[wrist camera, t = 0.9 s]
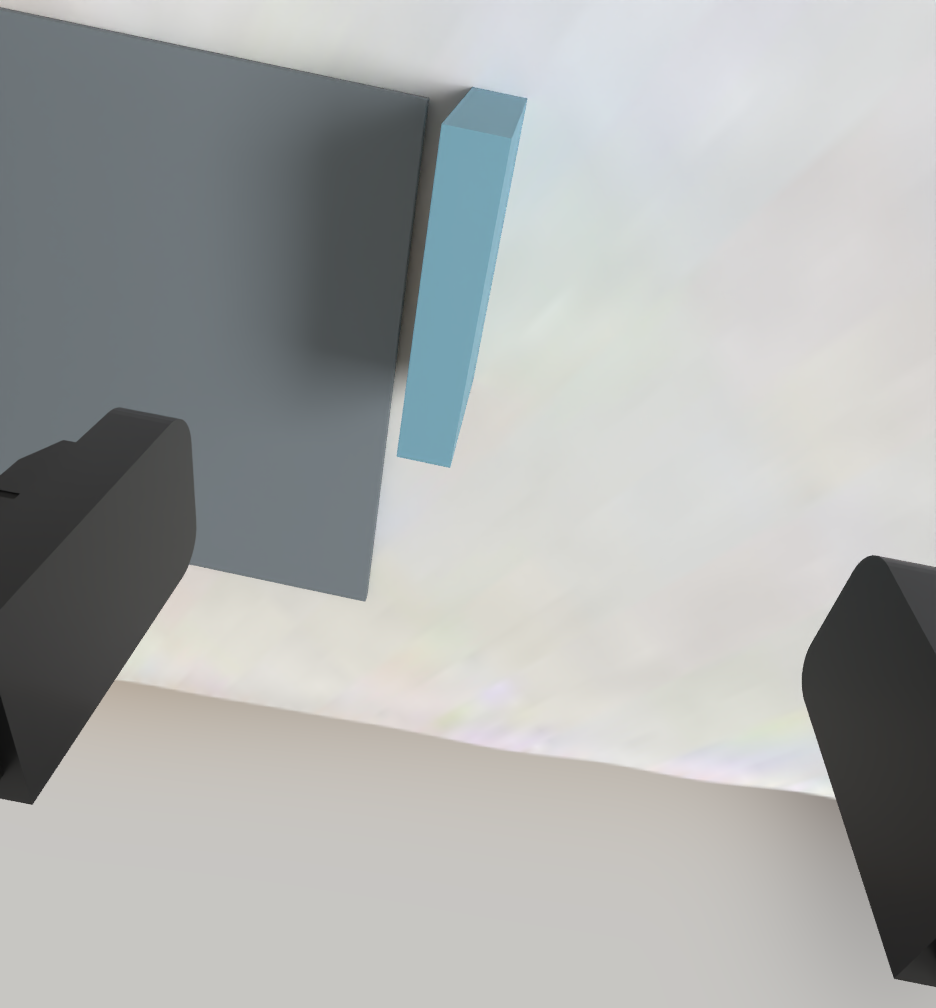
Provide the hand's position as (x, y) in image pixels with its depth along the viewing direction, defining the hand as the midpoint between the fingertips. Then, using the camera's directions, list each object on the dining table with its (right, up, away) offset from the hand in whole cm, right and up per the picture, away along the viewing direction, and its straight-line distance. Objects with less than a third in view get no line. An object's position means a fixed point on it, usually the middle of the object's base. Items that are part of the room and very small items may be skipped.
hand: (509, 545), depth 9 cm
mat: (-12, +6, +19) cm, 23 cm away
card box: (0, +9, +15) cm, 18 cm away
